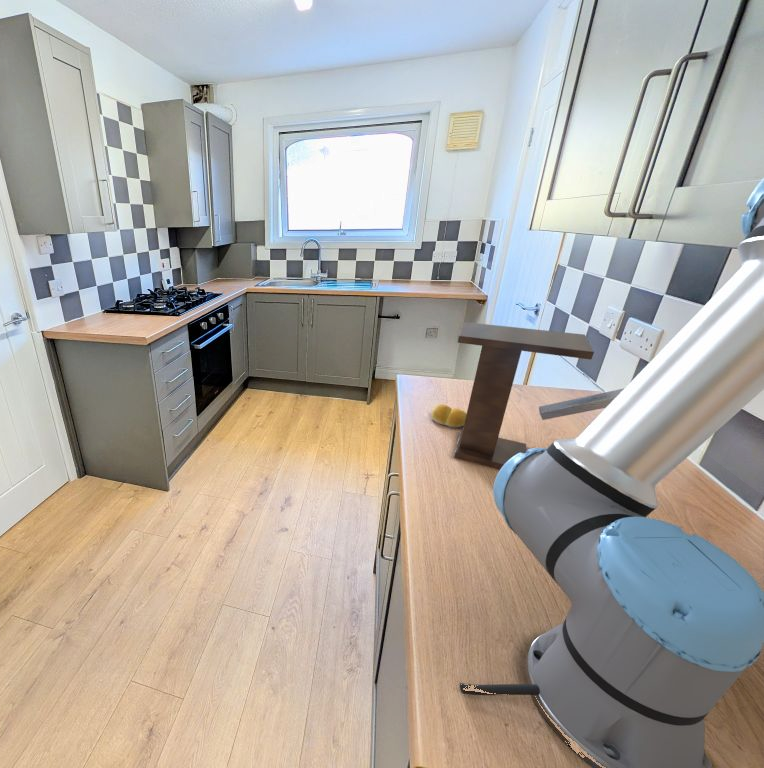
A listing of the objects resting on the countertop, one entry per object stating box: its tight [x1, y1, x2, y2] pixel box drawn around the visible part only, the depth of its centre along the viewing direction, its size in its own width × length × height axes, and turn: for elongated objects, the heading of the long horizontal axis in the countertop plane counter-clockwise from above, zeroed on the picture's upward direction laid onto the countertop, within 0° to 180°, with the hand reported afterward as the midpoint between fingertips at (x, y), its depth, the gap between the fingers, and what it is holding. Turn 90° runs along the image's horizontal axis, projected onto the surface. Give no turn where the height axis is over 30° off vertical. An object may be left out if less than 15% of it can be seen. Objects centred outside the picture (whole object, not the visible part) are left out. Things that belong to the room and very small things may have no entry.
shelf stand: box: [453, 321, 595, 470], centre depth 86 cm, size 22×12×29 cm, turn 59°
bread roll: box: [429, 403, 467, 429], centre depth 105 cm, size 8×9×4 cm
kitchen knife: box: [538, 388, 624, 421], centre depth 64 cm, size 30×3×2 cm, turn 58°
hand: (688, 365), depth 60 cm, fingers closed on kitchen knife, 3 cm apart
